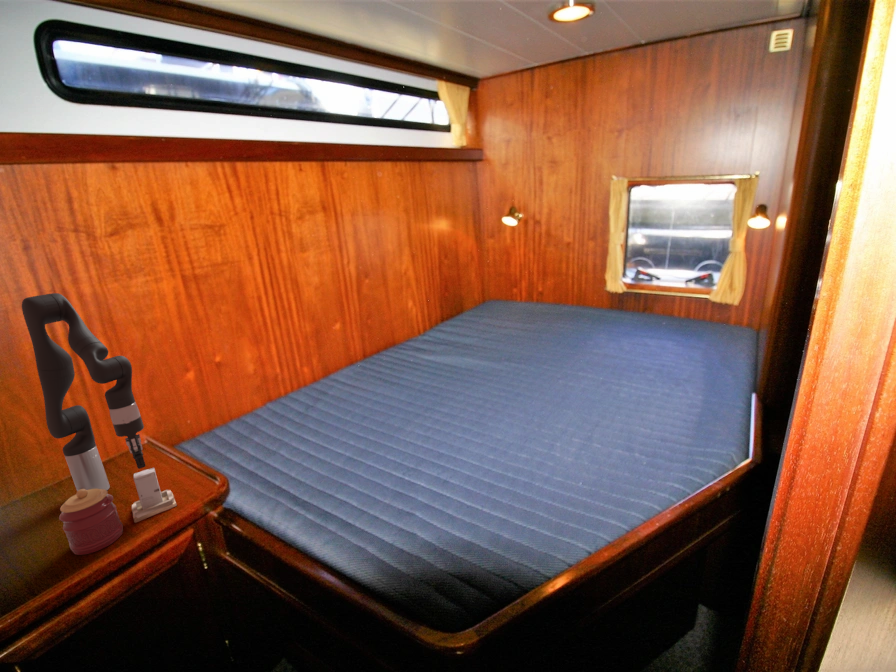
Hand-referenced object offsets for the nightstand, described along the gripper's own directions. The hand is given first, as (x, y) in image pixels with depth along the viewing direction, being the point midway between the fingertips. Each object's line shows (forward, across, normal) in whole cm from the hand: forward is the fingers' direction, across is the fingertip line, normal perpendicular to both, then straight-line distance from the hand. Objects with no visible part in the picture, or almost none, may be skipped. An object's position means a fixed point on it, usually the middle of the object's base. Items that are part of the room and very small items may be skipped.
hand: (141, 467), depth 149 cm
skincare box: (+14, 0, 0) cm, 15 cm away
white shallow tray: (+15, 0, 0) cm, 15 cm away
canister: (+16, +7, -15) cm, 23 cm away
